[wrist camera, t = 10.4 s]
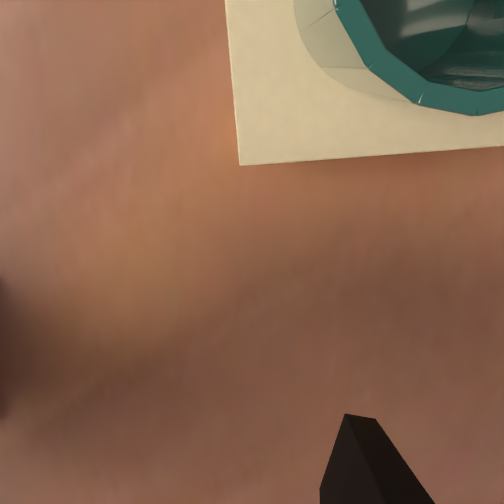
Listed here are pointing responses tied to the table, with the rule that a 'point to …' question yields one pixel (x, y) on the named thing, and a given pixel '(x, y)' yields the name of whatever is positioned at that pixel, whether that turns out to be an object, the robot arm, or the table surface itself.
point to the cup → (411, 49)
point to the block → (324, 101)
